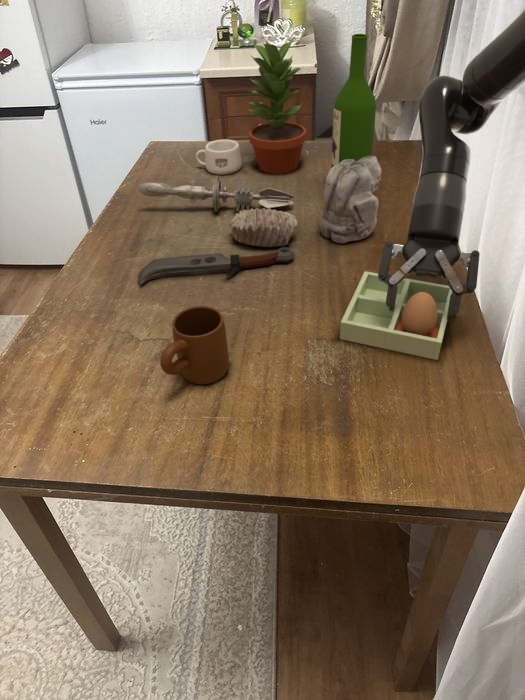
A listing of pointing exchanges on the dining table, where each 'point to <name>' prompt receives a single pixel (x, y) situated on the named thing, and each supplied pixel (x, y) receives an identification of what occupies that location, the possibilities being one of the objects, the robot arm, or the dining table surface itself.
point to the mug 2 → (221, 157)
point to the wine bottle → (354, 110)
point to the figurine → (351, 200)
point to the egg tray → (393, 317)
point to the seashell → (263, 227)
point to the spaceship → (219, 194)
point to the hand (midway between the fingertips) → (420, 314)
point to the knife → (209, 264)
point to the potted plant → (276, 113)
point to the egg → (420, 314)
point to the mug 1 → (197, 346)
